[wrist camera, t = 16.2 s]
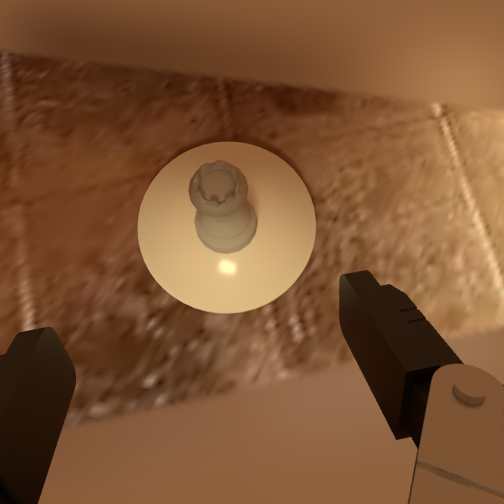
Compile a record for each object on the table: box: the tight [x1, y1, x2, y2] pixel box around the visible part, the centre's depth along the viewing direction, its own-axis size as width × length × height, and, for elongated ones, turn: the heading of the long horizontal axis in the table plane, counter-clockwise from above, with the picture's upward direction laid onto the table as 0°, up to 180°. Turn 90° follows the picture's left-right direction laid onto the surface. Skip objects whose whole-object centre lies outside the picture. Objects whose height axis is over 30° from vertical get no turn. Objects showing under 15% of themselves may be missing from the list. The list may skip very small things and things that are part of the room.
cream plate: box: [138, 142, 316, 314], centre depth 28 cm, size 13×13×1 cm
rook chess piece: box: [188, 160, 258, 254], centre depth 23 cm, size 4×4×8 cm
